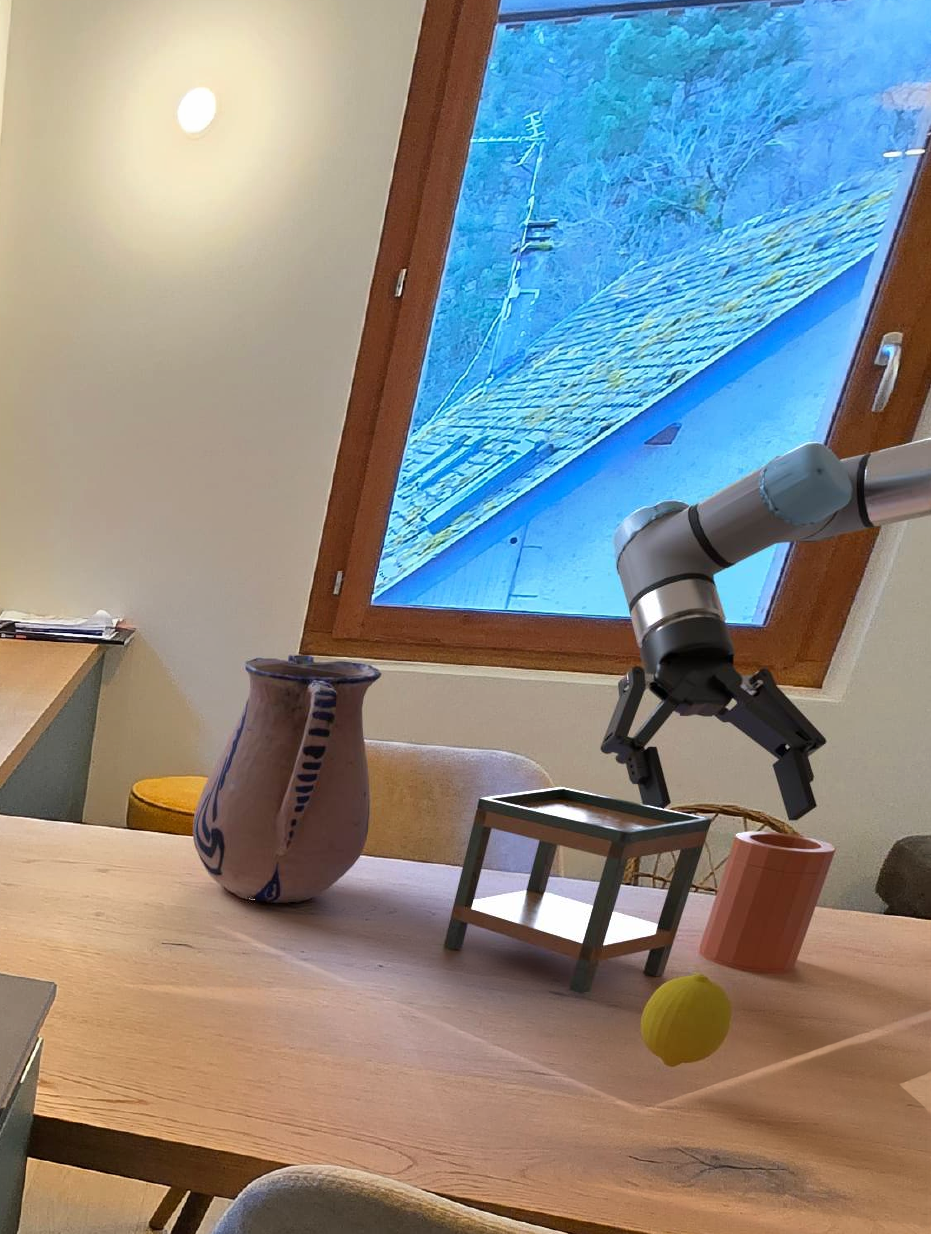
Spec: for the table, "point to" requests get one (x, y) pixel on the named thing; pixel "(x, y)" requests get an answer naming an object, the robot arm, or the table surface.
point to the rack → (598, 928)
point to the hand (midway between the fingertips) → (730, 812)
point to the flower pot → (766, 901)
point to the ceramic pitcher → (289, 783)
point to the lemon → (686, 1020)
